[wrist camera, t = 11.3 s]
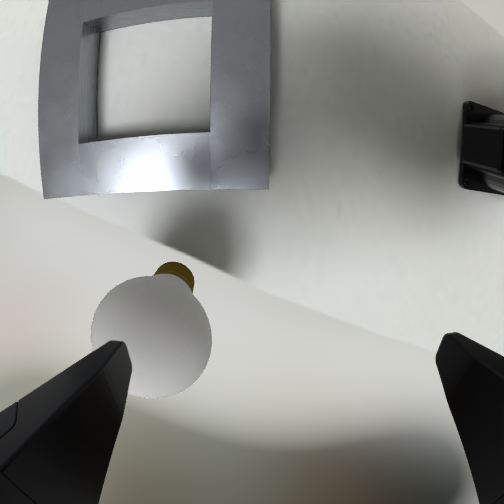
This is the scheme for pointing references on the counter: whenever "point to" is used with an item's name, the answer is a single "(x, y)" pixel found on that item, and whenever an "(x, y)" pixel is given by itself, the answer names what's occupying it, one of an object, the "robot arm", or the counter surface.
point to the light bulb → (157, 330)
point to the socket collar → (155, 146)
